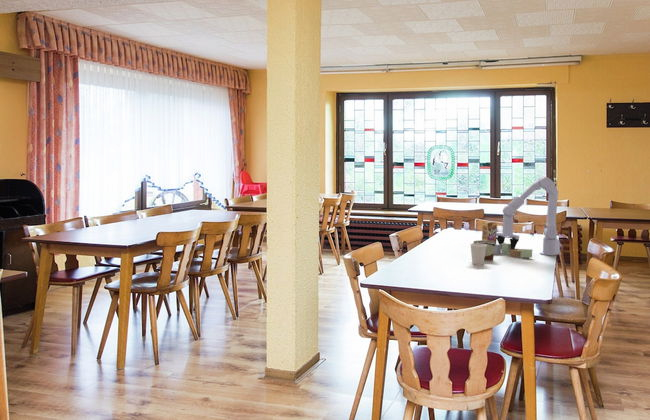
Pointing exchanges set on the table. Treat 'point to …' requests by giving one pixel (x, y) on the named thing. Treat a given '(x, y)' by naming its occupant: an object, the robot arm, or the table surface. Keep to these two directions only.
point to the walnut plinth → (515, 253)
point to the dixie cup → (478, 253)
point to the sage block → (506, 248)
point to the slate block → (497, 249)
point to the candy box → (489, 231)
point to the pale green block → (526, 253)
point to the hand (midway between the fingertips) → (507, 250)
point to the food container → (488, 249)
